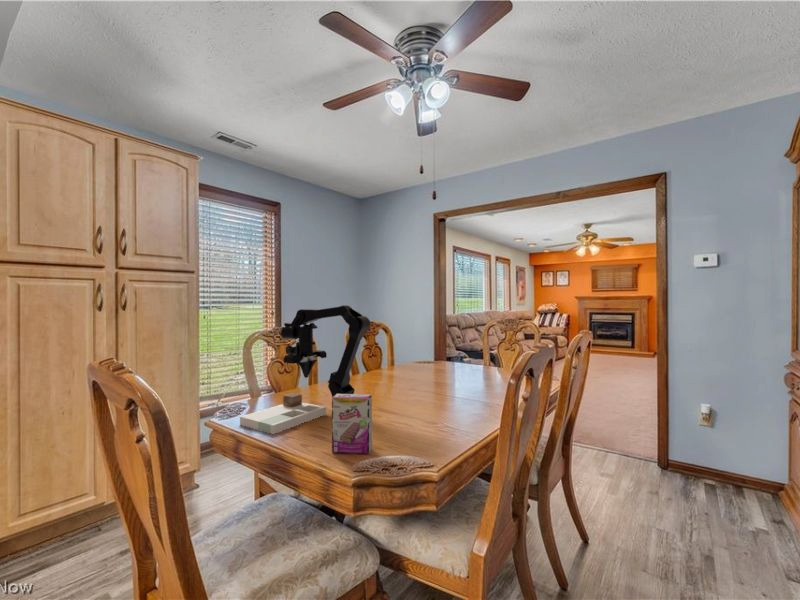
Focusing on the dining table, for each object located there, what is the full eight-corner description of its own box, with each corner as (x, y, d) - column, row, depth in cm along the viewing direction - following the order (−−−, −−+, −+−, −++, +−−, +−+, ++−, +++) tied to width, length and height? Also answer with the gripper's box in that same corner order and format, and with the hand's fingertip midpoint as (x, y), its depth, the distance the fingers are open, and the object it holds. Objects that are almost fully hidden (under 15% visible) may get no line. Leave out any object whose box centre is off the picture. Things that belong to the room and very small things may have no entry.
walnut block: (301, 404, 152) (301, 394, 152) (292, 407, 148) (291, 397, 148) (293, 402, 155) (293, 392, 155) (283, 405, 150) (283, 395, 150)
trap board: (326, 414, 148) (326, 407, 148) (273, 434, 127) (273, 425, 127) (294, 407, 158) (294, 400, 158) (239, 425, 137) (239, 416, 137)
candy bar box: (331, 454, 110) (330, 397, 110) (336, 447, 115) (335, 393, 115) (369, 455, 109) (369, 398, 109) (372, 448, 114) (372, 393, 114)
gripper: (308, 336, 169) (309, 371, 169) (274, 340, 154) (274, 379, 154) (327, 337, 163) (327, 374, 163) (293, 342, 148) (293, 382, 148)
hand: (306, 377), depth 157 cm, fingers closed
